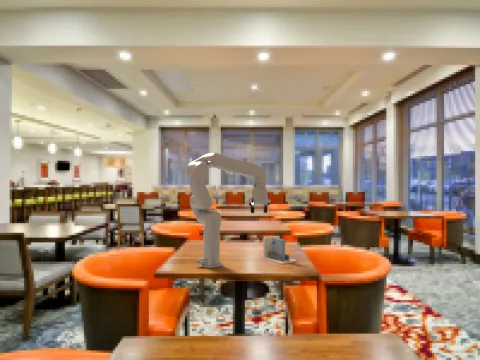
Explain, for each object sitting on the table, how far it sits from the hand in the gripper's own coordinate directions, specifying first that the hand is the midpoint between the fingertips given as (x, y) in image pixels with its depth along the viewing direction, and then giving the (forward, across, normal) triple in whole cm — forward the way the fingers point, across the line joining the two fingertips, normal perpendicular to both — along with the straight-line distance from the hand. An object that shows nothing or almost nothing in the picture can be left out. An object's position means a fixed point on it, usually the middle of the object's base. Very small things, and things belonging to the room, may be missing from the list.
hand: (258, 213), depth 199 cm
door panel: (+27, +7, -12) cm, 30 cm away
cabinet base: (+28, +8, -12) cm, 31 cm away
